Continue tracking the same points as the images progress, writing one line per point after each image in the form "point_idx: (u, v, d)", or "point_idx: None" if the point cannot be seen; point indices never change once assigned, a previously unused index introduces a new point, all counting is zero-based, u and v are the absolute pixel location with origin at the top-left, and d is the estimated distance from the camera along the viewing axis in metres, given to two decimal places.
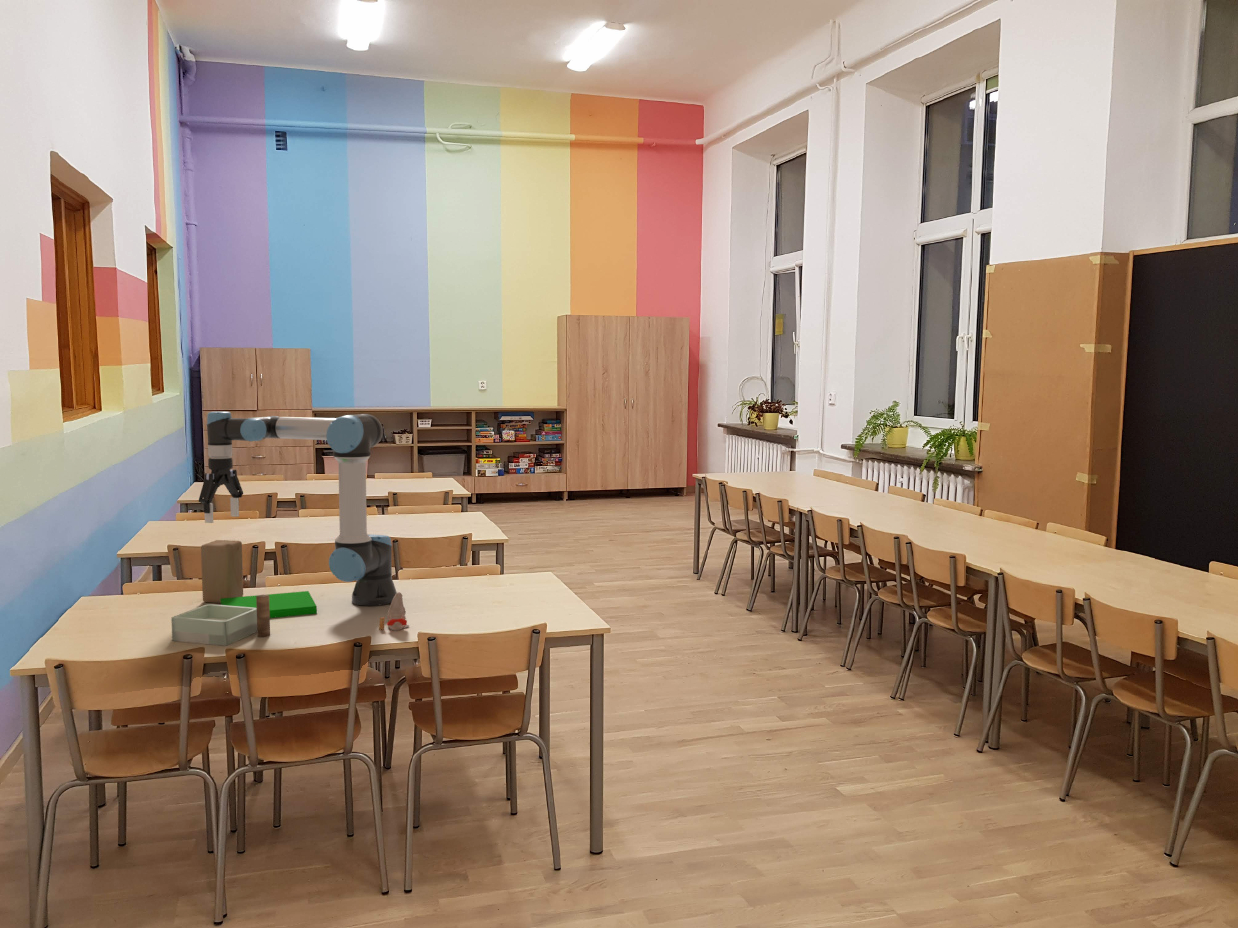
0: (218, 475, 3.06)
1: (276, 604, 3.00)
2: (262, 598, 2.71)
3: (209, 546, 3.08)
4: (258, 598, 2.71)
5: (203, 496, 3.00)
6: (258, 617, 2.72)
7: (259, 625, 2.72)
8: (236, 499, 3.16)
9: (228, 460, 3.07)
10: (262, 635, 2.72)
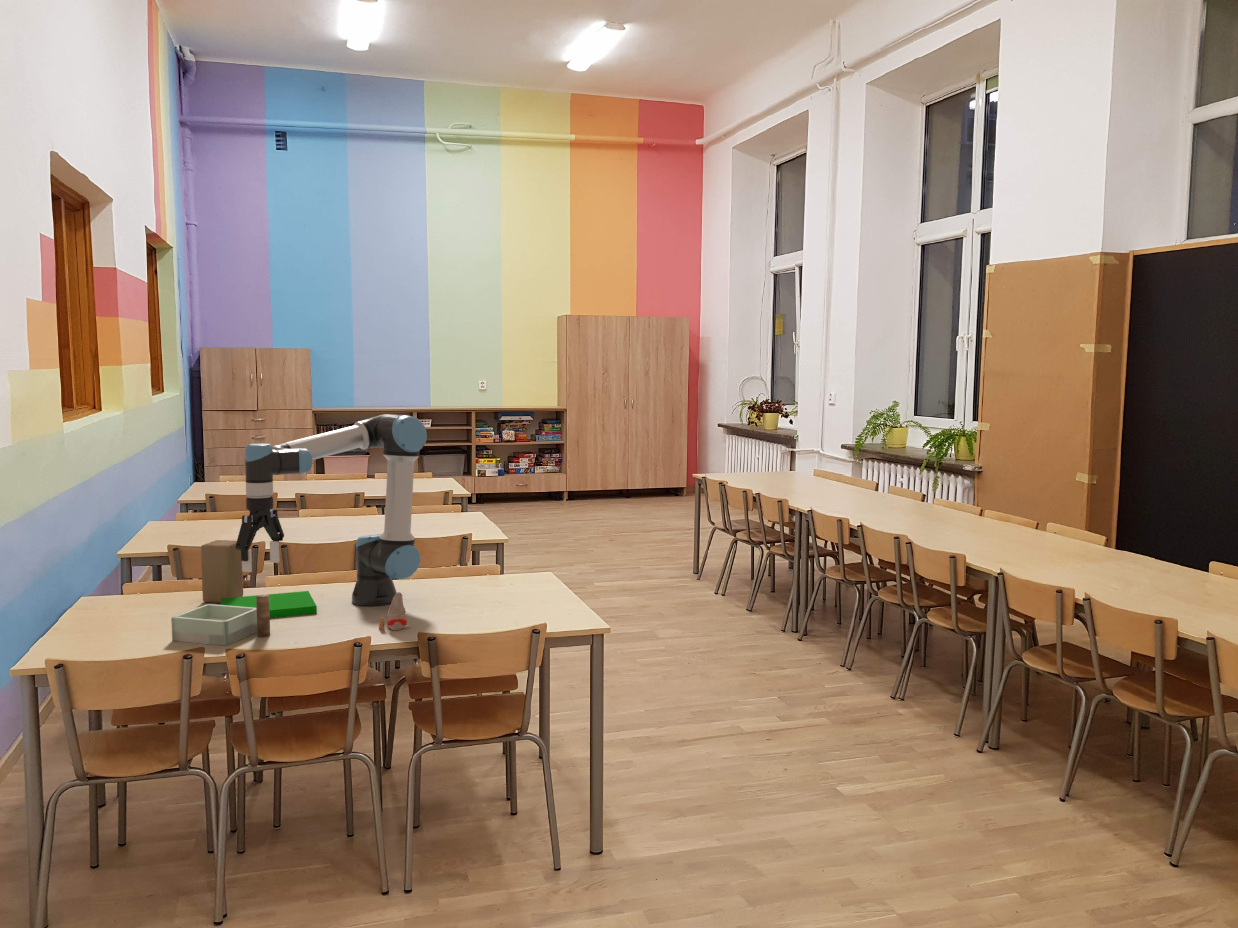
0: (257, 517, 2.67)
1: (276, 604, 3.00)
2: (262, 598, 2.71)
3: (209, 546, 3.08)
4: (258, 598, 2.71)
5: (241, 542, 2.61)
6: (258, 617, 2.72)
7: (259, 625, 2.72)
8: (276, 543, 2.77)
9: (269, 499, 2.68)
10: (262, 635, 2.72)
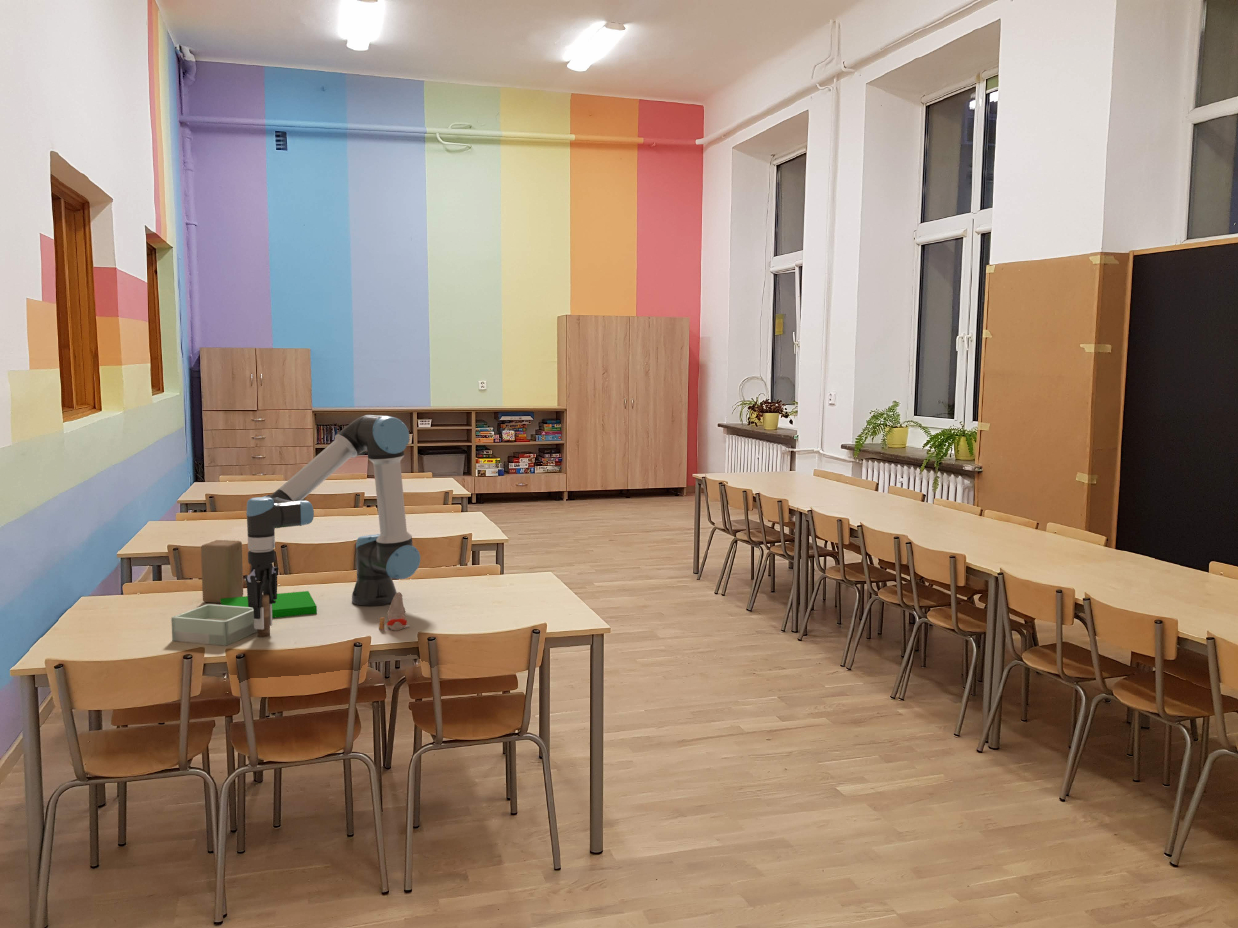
0: (259, 570, 2.69)
1: (276, 604, 3.00)
2: (262, 598, 2.71)
3: (209, 546, 3.08)
4: None
5: (252, 602, 2.67)
6: None
7: None
8: (269, 605, 2.74)
9: (270, 553, 2.70)
10: (262, 635, 2.72)
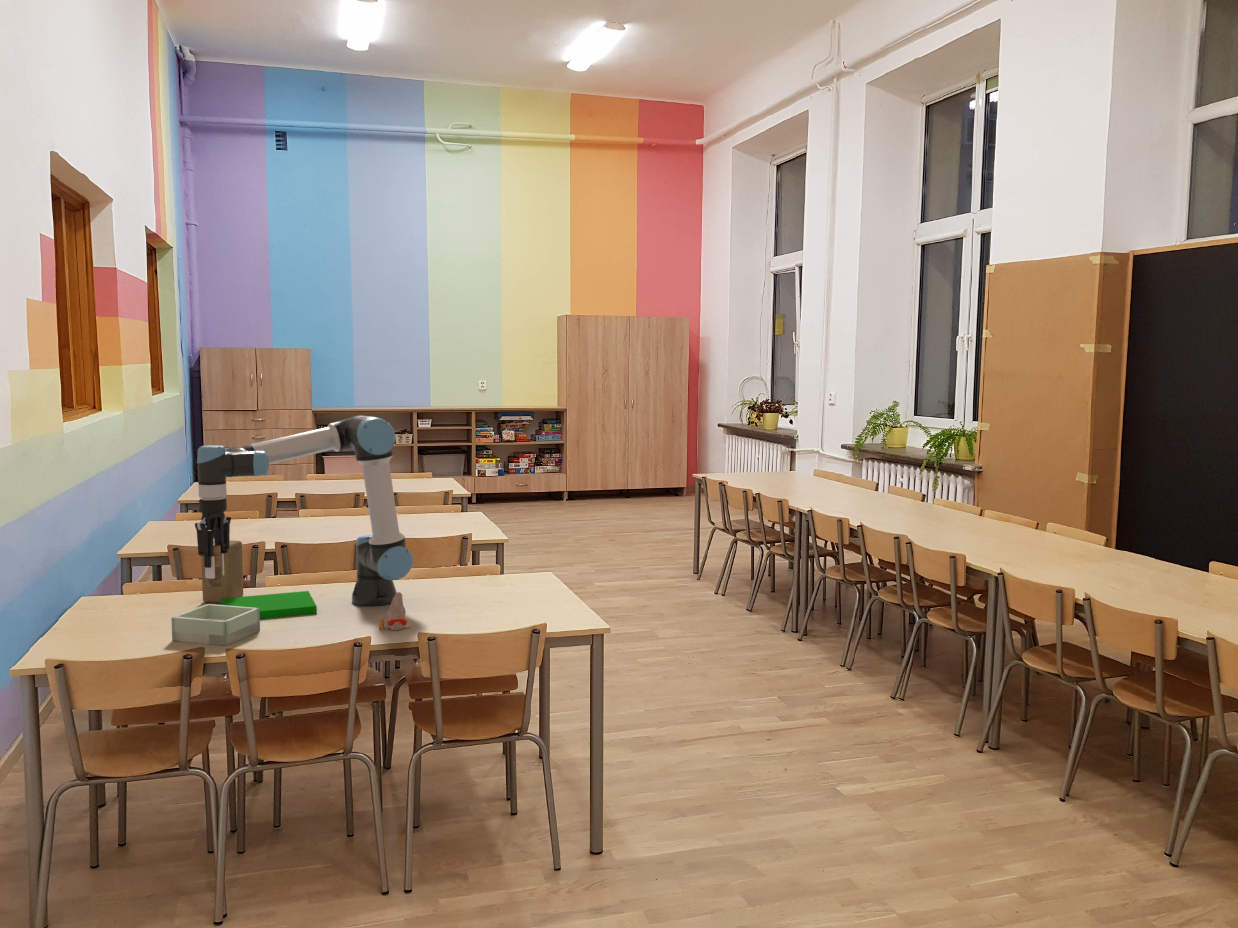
0: (210, 518, 2.66)
1: (276, 604, 3.00)
2: (213, 548, 2.68)
3: None
4: None
5: (202, 550, 2.64)
6: None
7: None
8: (221, 555, 2.72)
9: (221, 501, 2.67)
10: (213, 585, 2.69)
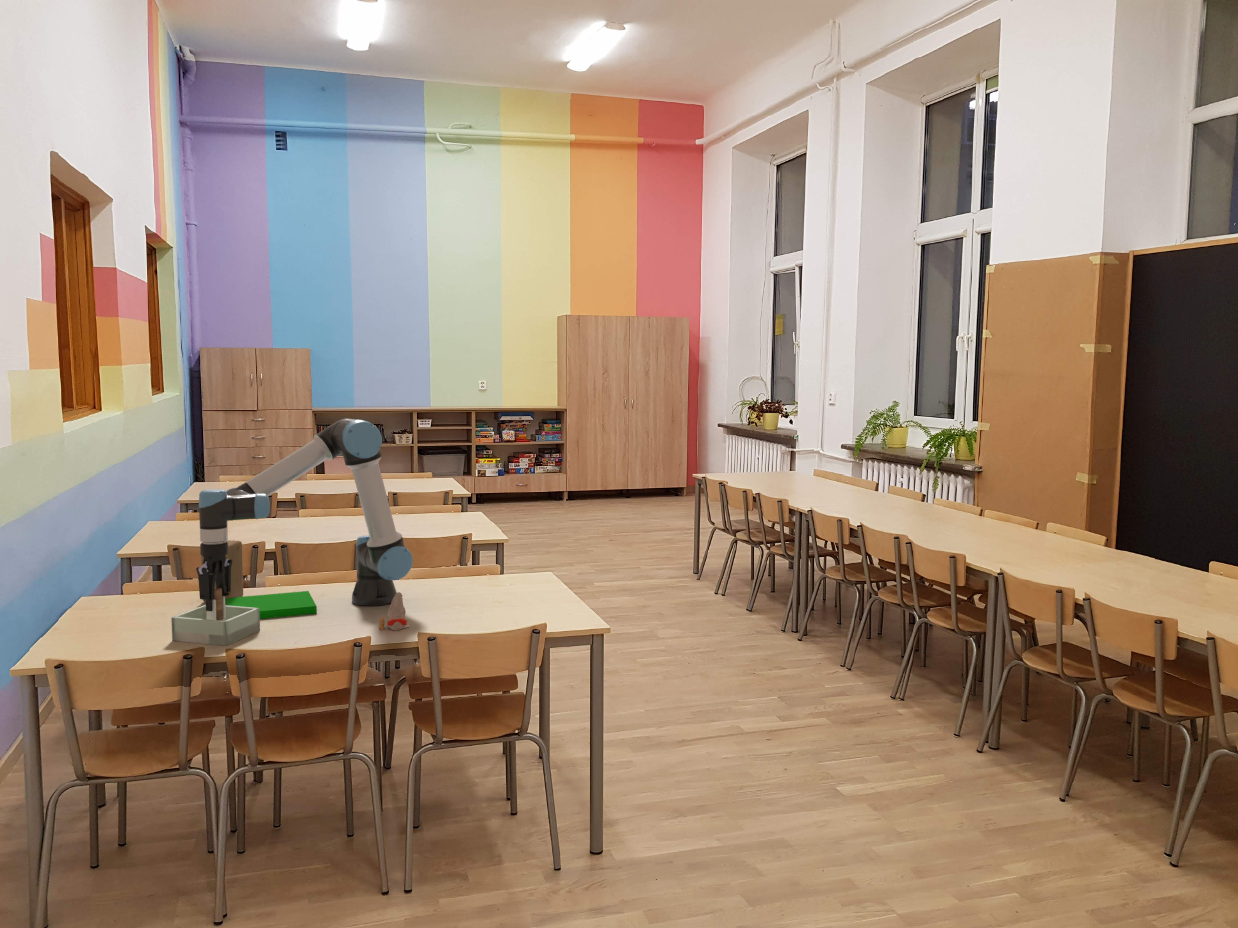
0: (211, 562, 2.67)
1: (276, 604, 3.00)
2: (214, 591, 2.70)
3: None
4: None
5: (203, 594, 2.66)
6: None
7: None
8: (222, 598, 2.73)
9: (223, 545, 2.68)
10: None
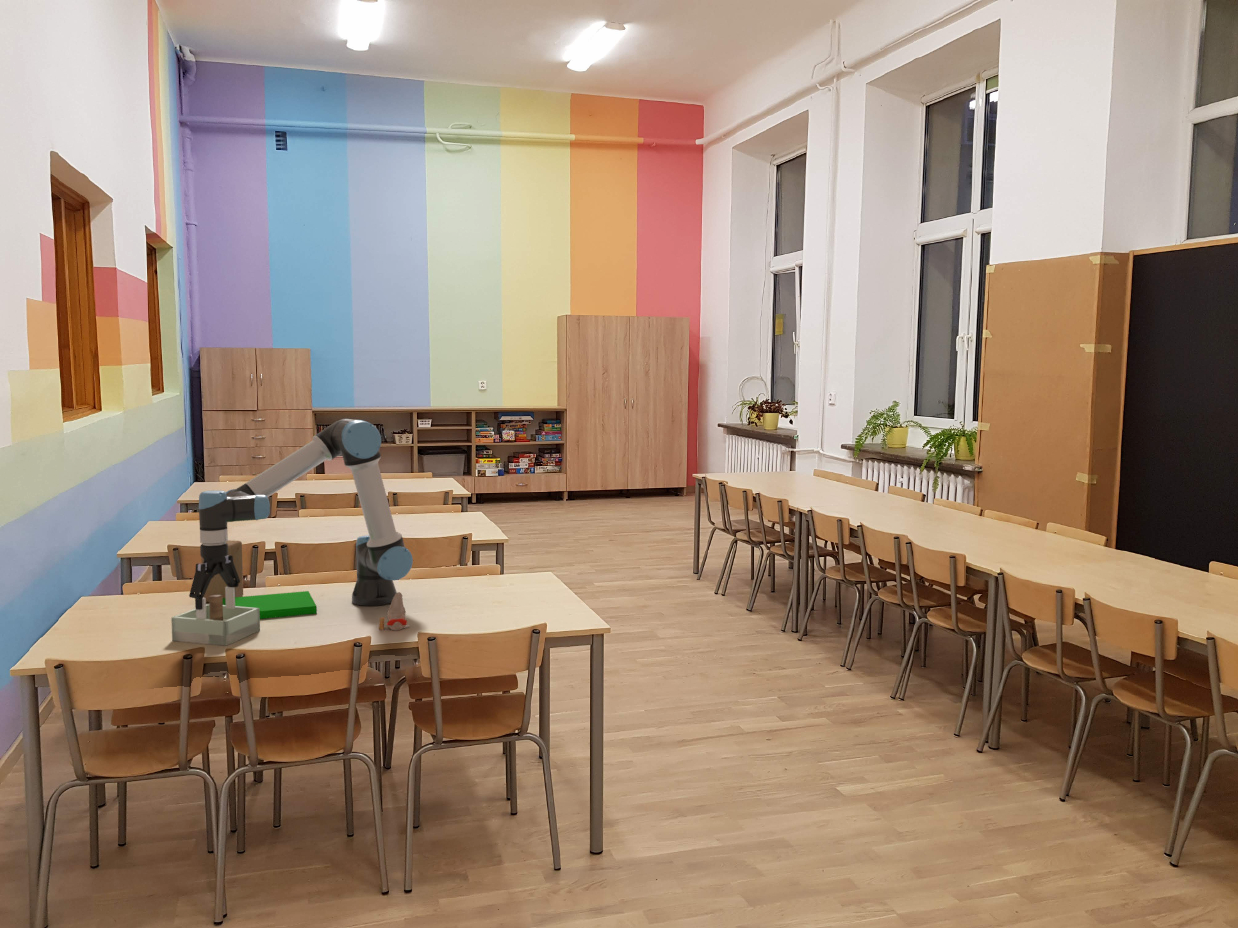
0: (211, 564, 2.68)
1: (276, 604, 3.00)
2: (215, 598, 2.70)
3: None
4: (211, 598, 2.70)
5: (194, 591, 2.62)
6: (211, 617, 2.71)
7: None
8: (232, 589, 2.77)
9: (223, 547, 2.68)
10: None
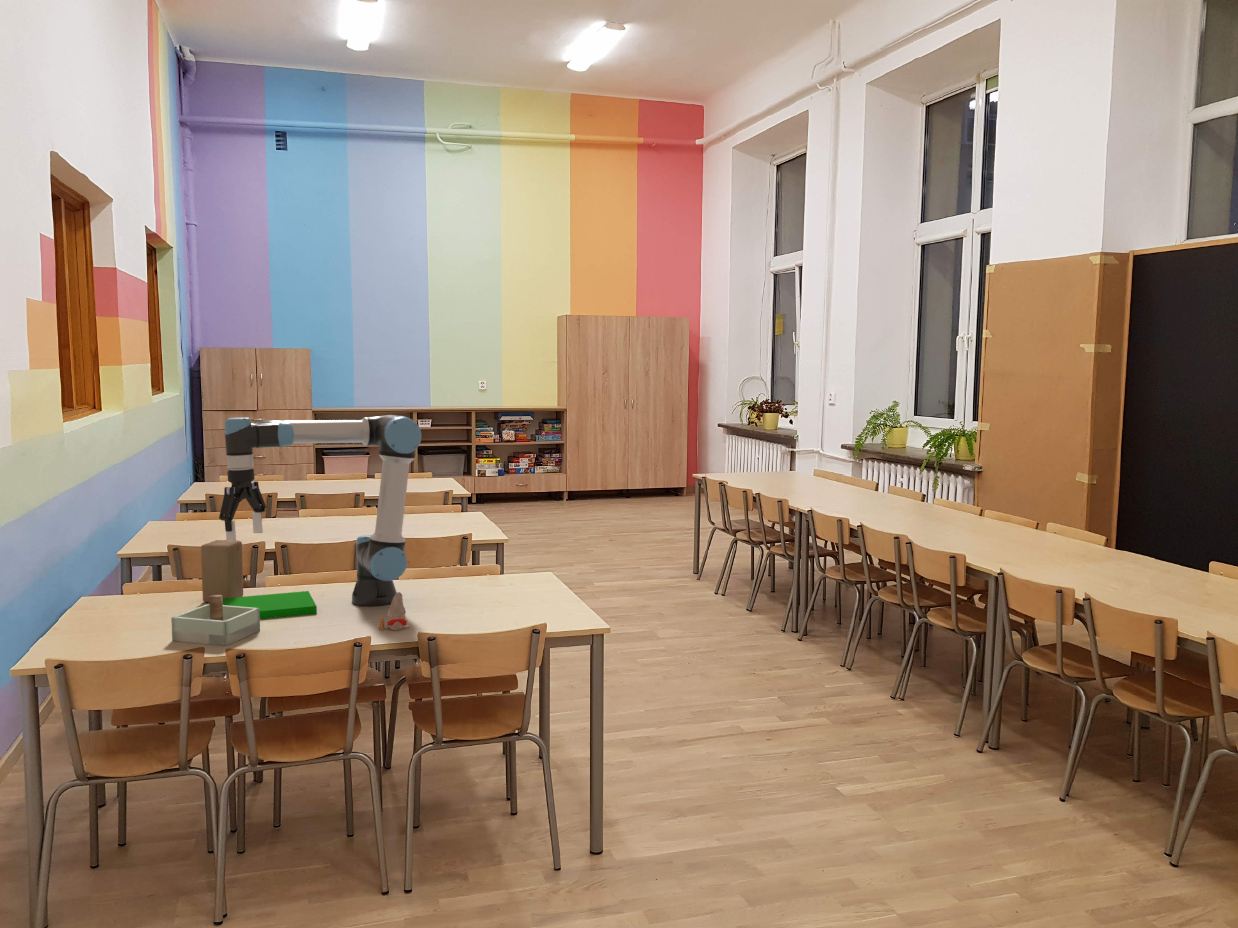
0: (239, 488, 2.75)
1: (276, 604, 3.00)
2: (215, 598, 2.70)
3: (209, 546, 3.08)
4: (211, 598, 2.70)
5: (224, 513, 2.70)
6: (211, 617, 2.71)
7: None
8: (259, 514, 2.85)
9: (250, 471, 2.76)
10: None
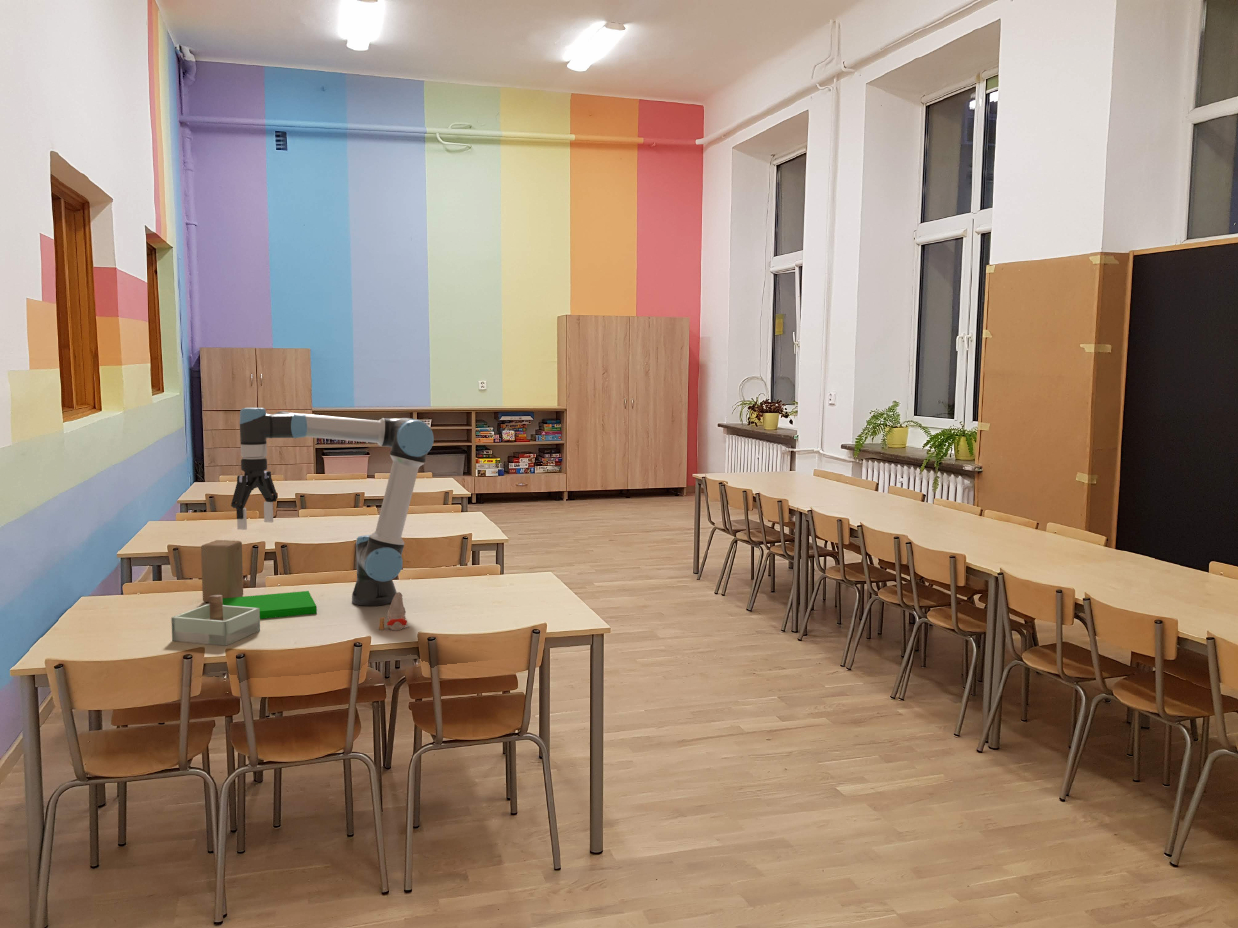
0: (252, 477, 2.80)
1: (276, 604, 3.00)
2: (215, 598, 2.70)
3: (209, 546, 3.08)
4: (211, 598, 2.70)
5: (236, 500, 2.74)
6: (211, 617, 2.71)
7: None
8: (270, 503, 2.90)
9: (263, 461, 2.81)
10: None
